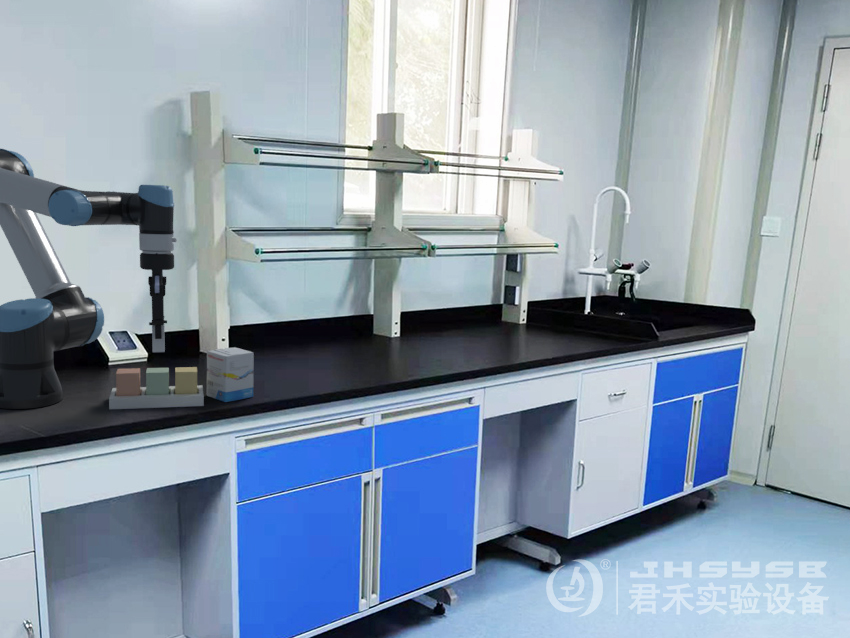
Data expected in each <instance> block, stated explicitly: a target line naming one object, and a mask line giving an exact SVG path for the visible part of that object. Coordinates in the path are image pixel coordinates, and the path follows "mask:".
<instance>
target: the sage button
mask: <svg viewBox="0 0 850 638" xmlns="http://www.w3.org/2000/svg"><path fill="white" fill-rule="evenodd" d="M169 386H170V368H169V367H147V368H146V372H145V387H146V395H169Z"/></svg>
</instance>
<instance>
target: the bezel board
mask: <svg viewBox="0 0 850 638" xmlns="http://www.w3.org/2000/svg"><path fill="white" fill-rule="evenodd" d="M111 389H112V390H111V392H110V395H109V398H108V403H109V404H108V409H109V410H128V409H129V410H130V409H154V408H155V409H157V408H158V409H160V408H178V407H179V408H185V407H204V406H205V404H204V403H205V402H204V401H205V400H204V399H205V398H204V397H205V396H204V387H203V384H201V385H198V384H197V394H175V385H169V395H146V386H140V396H117V395H116V387H112V388H111Z"/></svg>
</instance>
